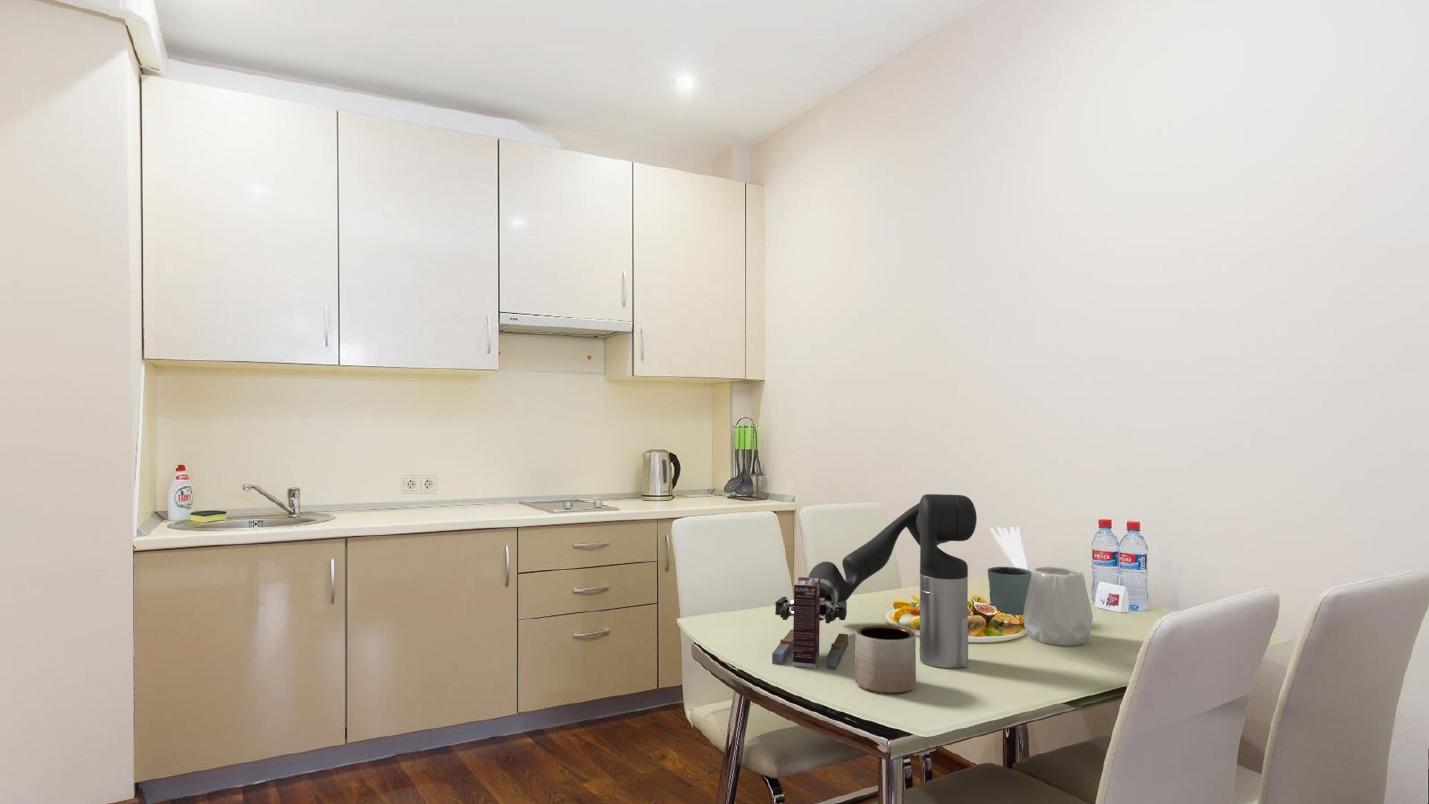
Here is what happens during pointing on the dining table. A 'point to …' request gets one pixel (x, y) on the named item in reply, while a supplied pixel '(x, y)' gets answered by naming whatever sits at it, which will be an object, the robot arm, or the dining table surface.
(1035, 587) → the vase
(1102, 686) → the dining table surface
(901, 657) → the planter
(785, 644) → the pair of brown-grey bars
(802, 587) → the supplement box
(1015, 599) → the teal embossed flower pot
